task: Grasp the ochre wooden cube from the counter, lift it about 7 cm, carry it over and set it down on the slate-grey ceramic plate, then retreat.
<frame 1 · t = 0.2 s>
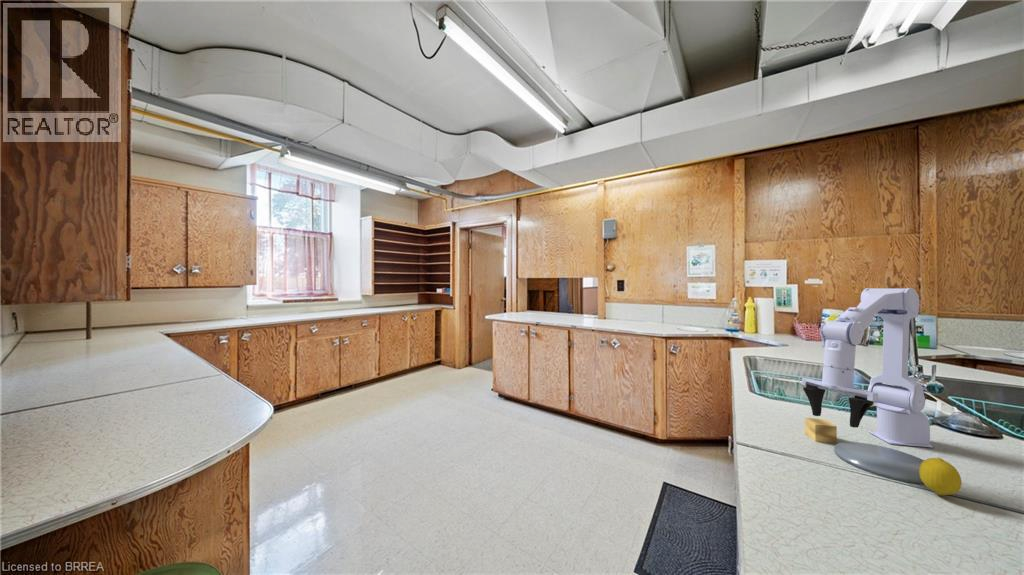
hand: (834, 421, 84), 10 cm above the countertop, tool pointing down, fingers open, 7 cm apart
lemon: (939, 496, 70), on the countertop
cube: (820, 438, 97), on the countertop
plate: (884, 462, 83), on the countertop
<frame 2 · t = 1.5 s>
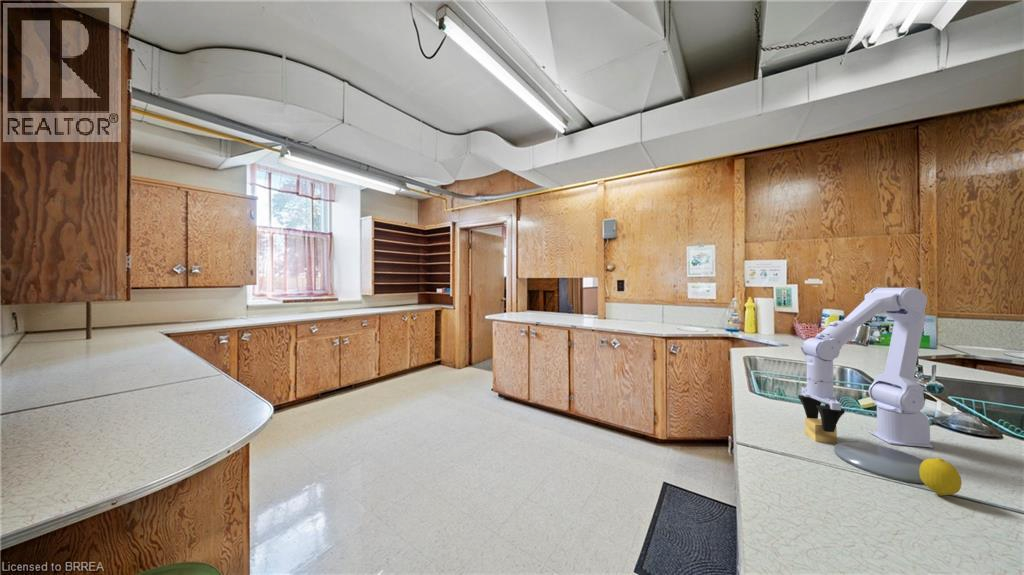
hand: (820, 425, 97), 4 cm above the countertop, tool pointing down, fingers open, 7 cm apart
nothing on the countertop moved.
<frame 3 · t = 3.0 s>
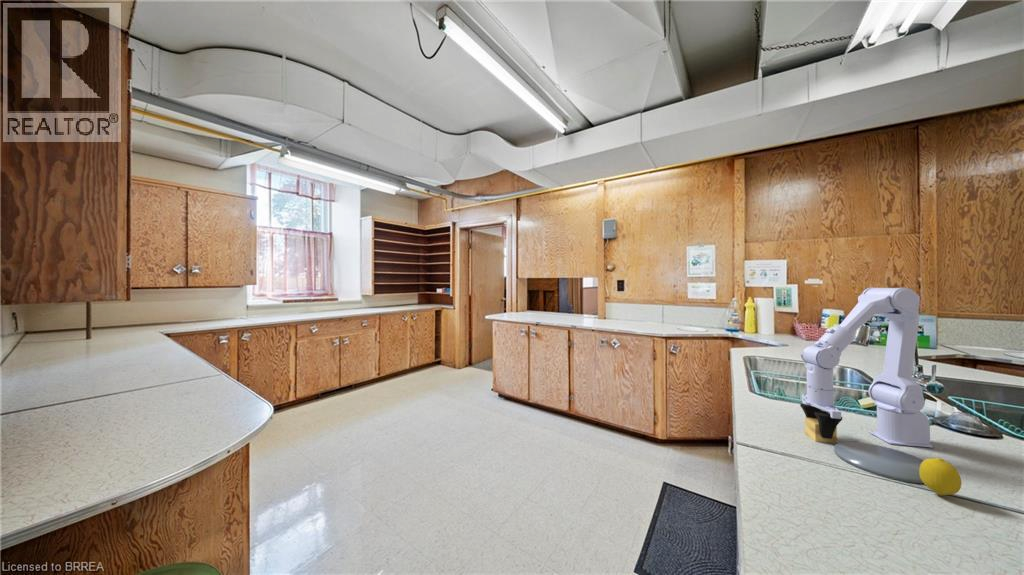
hand: (820, 433, 97), 1 cm above the countertop, tool pointing down, fingers closed on cube, 5 cm apart
cube: (820, 438, 97), on the countertop, touching gripper
everything else where it was.
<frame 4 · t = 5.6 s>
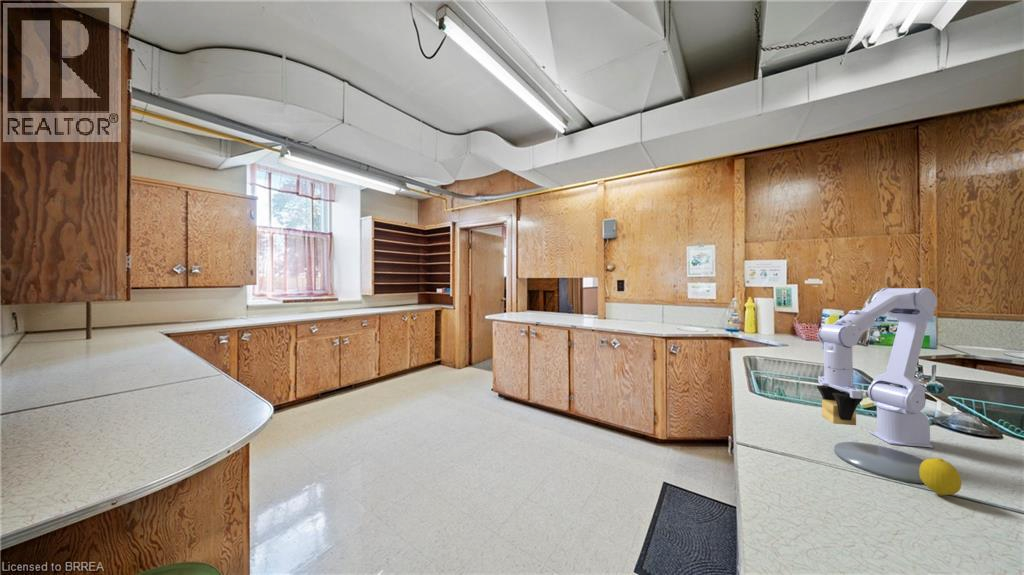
hand: (838, 415, 92), 8 cm above the countertop, tool pointing down, fingers closed on cube, 5 cm apart
cube: (838, 420, 92), point 7 cm above the countertop, touching gripper
everything else where it was.
when the fingers open (4 cm above the countertop, at t = 8.0 s): cube drops 1 cm, resting on plate.
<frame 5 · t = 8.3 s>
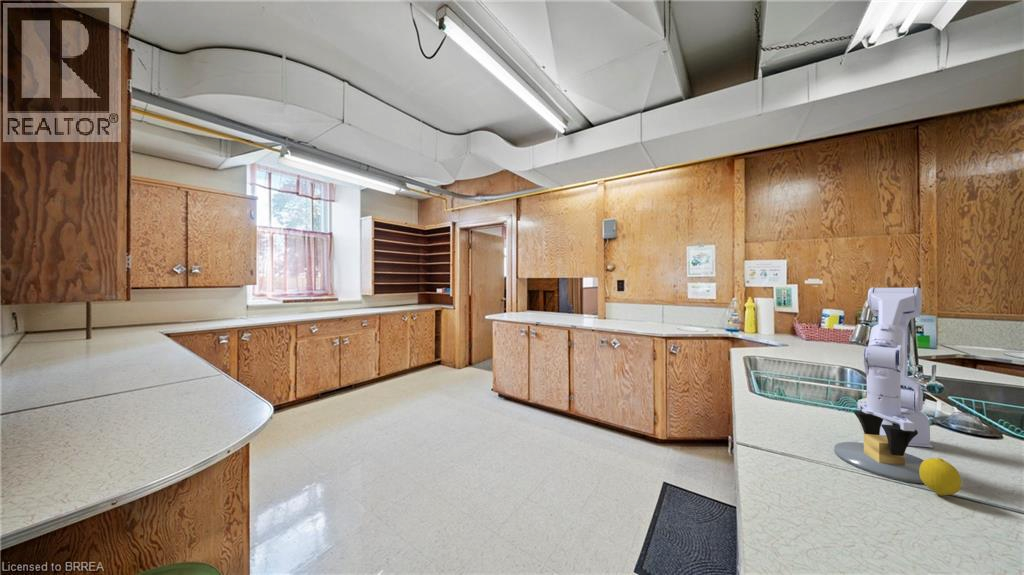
hand: (883, 447, 83), 4 cm above the countertop, tool pointing down, fingers open, 7 cm apart
cube: (883, 458, 83), point 1 cm above the countertop, touching plate
everything else where it was.
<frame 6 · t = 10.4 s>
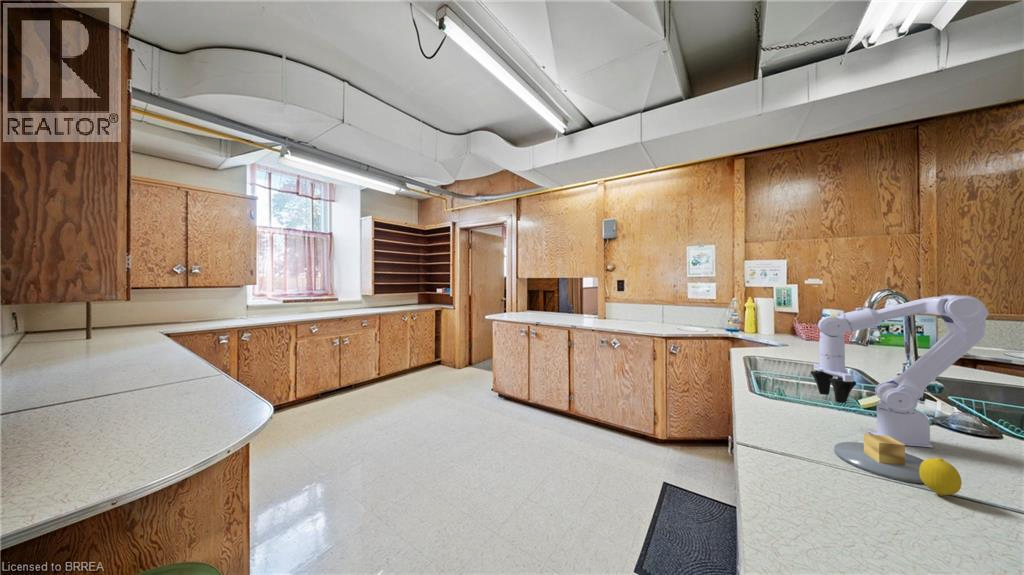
hand: (832, 398, 103), 9 cm above the countertop, tool pointing down, fingers open, 7 cm apart
nothing on the countertop moved.
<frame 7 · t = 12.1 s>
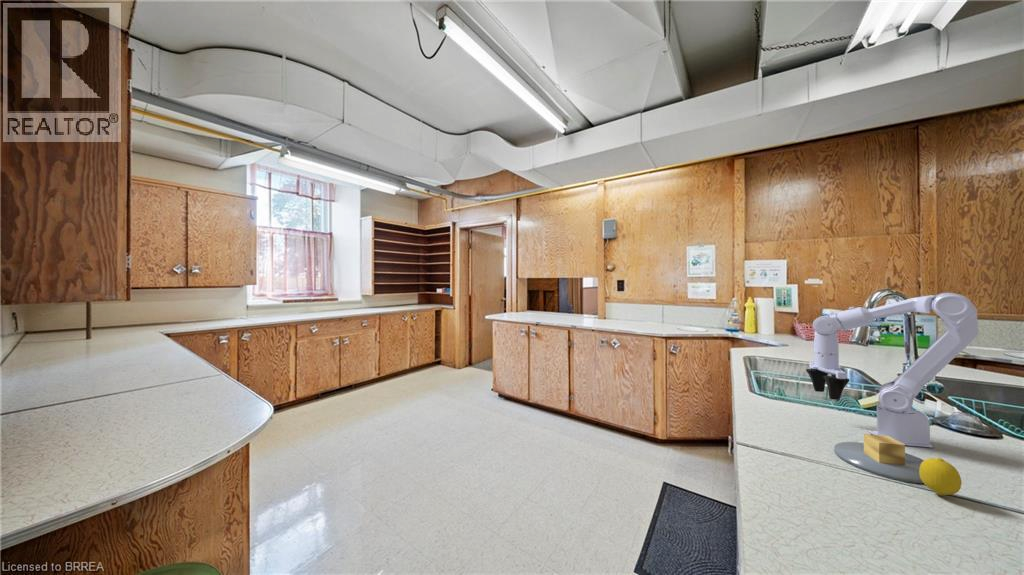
hand: (826, 395, 106), 9 cm above the countertop, tool pointing down, fingers open, 7 cm apart
nothing on the countertop moved.
at the end: cube inside the target area on the plate (0.0 cm from its centre), point 1.0 cm above the plate's base; cube tilted 0°; the gripper is holding nothing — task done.
